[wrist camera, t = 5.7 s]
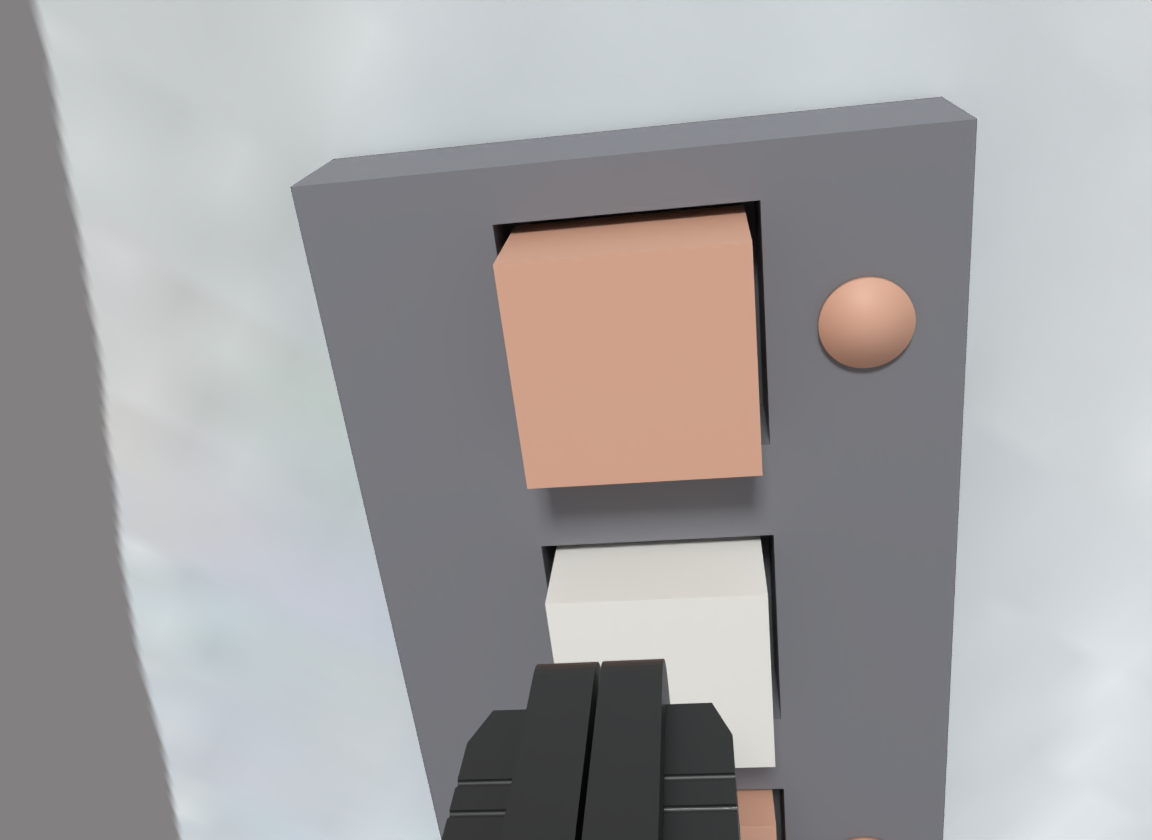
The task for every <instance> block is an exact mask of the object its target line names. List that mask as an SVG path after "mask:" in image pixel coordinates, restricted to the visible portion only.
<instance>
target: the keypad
mask: <svg viewBox="0 0 1152 840" xmlns="http://www.w3.org/2000/svg"><path fill="white" fill-rule="evenodd" d="M976 133H977V118H975V117H973V116H972V115H970V114H969V113H967V112H965V111H964V110H962V109H961V108H959V107H957V106H956V105H954V104H953V103H951V102H949V101H948V100H946V99H945V98H943V97H935V98H925V99H915V100H905V101H896V102H886V103H876V104H866V105H857V106H847V107H837V108H827V109H818V110H808V111H798V112H788V113H779V114H769V115H759V116H749V117H740V118H730V119H720V120H710V121H701V122H691V123H681V124H671V125H662V126H652V127H642V128H632V129H623V130H613V131H603V132H593V133H584V134H574V135H564V136H554V137H545V138H535V139H525V140H515V141H506V142H496V143H486V144H476V145H467V146H457V147H447V148H437V149H428V150H418V151H408V152H398V153H389V154H379V155H369V156H359V157H350V158H340V159H333V160H331V161H330V162H328V163H327V164H325V165H324V166H322V167H321V168H319V169H318V170H316V171H315V172H313V173H311V174H310V175H308V176H307V177H305V178H304V179H302V180H301V181H299V182H298V183H296V184H295V185H293V186H291V192H292V196H293V200H294V205H295V209H296V213H297V218H298V222H299V226H300V231H301V235H302V239H303V243H304V248H305V252H306V256H307V261H308V265H309V269H310V274H311V278H312V282H313V287H314V291H315V295H316V300H317V304H318V308H319V313H320V317H321V321H322V326H323V330H324V334H325V339H326V343H327V347H328V351H329V356H330V360H331V364H332V369H333V373H334V377H335V382H336V386H337V390H338V395H339V399H340V403H341V408H342V412H343V416H344V421H345V425H346V429H347V434H348V438H349V442H350V447H351V451H352V455H353V459H354V464H355V468H356V472H357V477H358V481H359V485H360V490H361V494H362V498H363V503H364V507H365V511H366V516H367V520H368V524H369V529H370V533H371V537H372V542H373V546H374V550H375V555H376V559H377V563H378V567H379V572H380V576H381V580H382V585H383V589H384V593H385V598H386V602H387V606H388V611H389V615H390V619H391V624H392V628H393V632H394V637H395V641H396V645H397V650H398V654H399V658H400V663H401V667H402V671H403V675H404V680H405V684H406V688H407V693H408V697H409V701H410V706H411V710H412V714H413V719H414V723H415V727H416V732H417V736H418V740H419V745H420V749H421V753H422V758H423V762H424V766H425V771H426V775H427V779H428V783H429V788H430V792H431V796H432V801H433V805H434V809H435V814H436V818H437V822H438V827H439V831H440V835H441V840H442V836H443V832H444V828H445V825H446V821H447V818H449V816H450V812H449V809H450V806H451V802H452V798H453V794H454V791H455V787H457V786H458V780H457V779H458V776H459V772H460V768H461V764H462V761H463V757H464V753H465V749H466V745H467V742H468V741H469V740H470V739H471V737H472V736H473V735H474V734H475V732H476V731H477V730H478V729H479V727H480V726H481V725H482V724H483V722H484V721H485V720H486V719H487V717H488V716H489V715H490V714H491V712H492V711H493V710H521V709H526V708H527V703H528V698H529V693H530V688H531V683H532V678H533V674H534V670H535V667H536V665H537V664H551V663H554V659H553V653H552V646H551V640H550V633H549V627H548V620H547V614H546V607H545V602H546V597H547V592H548V587H549V582H550V577H551V572H552V567H553V562H554V557H555V552H556V548H557V545H577V544H598V543H618V542H639V541H659V540H679V539H700V538H720V537H740V536H760V539H761V547H762V554H763V562H764V569H765V577H766V585H767V592H768V609H769V632H770V655H771V678H772V701H773V723H774V746H775V767H750V768H735V772H736V785H737V789H772V793H773V802H774V811H775V821H776V836H777V840H943V827H944V806H945V785H946V764H947V743H948V722H949V701H950V680H951V659H952V637H953V616H954V595H955V574H956V553H957V532H958V511H959V490H960V469H961V448H962V427H963V406H964V385H965V364H966V343H967V322H968V301H969V280H970V259H971V238H972V217H973V196H974V175H975V154H976ZM733 205H744V208H745V213H746V217H747V221H748V226H749V230H750V234H751V239H752V245H753V268H754V290H755V313H756V336H757V359H758V382H759V404H760V427H761V450H762V473H763V476H747V477H729V478H711V479H694V480H676V481H658V482H641V483H623V484H606V485H588V486H570V487H553V488H535V489H527V484H526V477H525V471H524V464H523V458H522V451H521V445H520V438H519V432H518V425H517V419H516V412H515V406H514V399H513V393H512V386H511V380H510V373H509V367H508V360H507V354H506V347H505V341H504V334H503V328H502V321H501V315H500V308H499V302H498V295H497V289H496V282H495V276H494V269H493V264H494V262H495V260H496V258H497V257H498V255H499V253H500V251H501V250H502V248H503V246H504V244H505V243H506V241H507V239H508V237H509V236H510V234H511V232H512V230H513V228H514V227H515V225H525V224H536V223H547V222H558V221H569V220H580V219H591V218H601V217H612V216H623V215H634V214H645V213H656V212H667V211H678V210H689V209H700V208H711V207H722V206H733Z"/></svg>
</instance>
